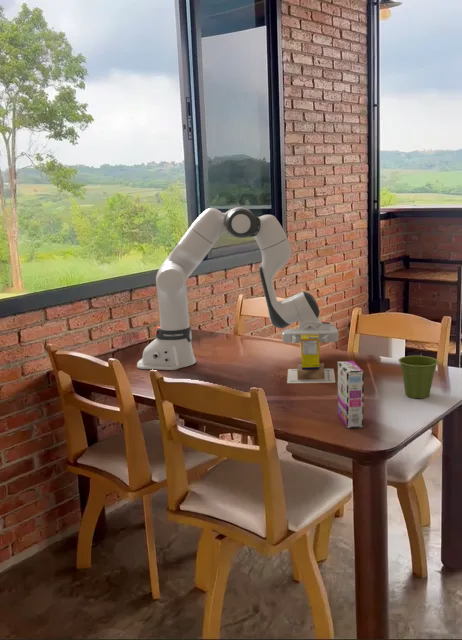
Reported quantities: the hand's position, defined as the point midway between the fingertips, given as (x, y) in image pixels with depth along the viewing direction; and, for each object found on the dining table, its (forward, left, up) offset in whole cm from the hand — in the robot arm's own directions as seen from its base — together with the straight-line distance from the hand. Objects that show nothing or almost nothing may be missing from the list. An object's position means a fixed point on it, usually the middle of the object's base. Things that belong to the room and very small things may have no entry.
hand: (310, 341), depth 233 cm
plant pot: (+33, -25, -12) cm, 43 cm away
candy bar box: (+11, -47, -12) cm, 50 cm away
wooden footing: (0, -7, -10) cm, 13 cm away
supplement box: (0, -7, -8) cm, 10 cm away
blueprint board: (0, -7, -12) cm, 13 cm away
